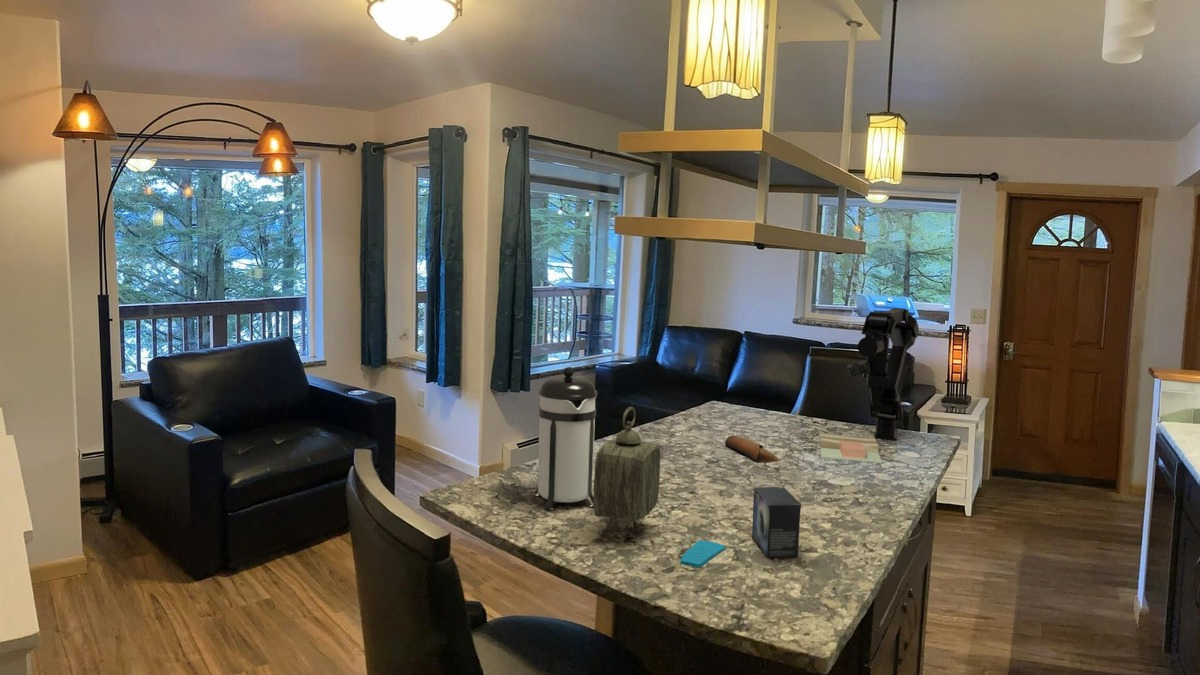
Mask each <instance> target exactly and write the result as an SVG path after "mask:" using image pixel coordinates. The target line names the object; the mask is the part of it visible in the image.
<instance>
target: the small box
mask: <svg viewBox="0 0 1200 675" xmlns="http://www.w3.org/2000/svg"><path fill="white" fill-rule="evenodd" d="M801 508H802V504H801V503H800V502H799V501H798V500H797V499H796V498H795V496H793V495H792V494H791V493H790V492H789V491H788V490H787V489H786V488H785V487H784V486H761V487H758V486H757V487H754V488H753V507H752V528H751V529H752V530H751V537H752V539H753V541H754V542H755V543H756V545H757V546H758V547H759V549H760V550H761V552H762V553H763V554H764V556H765V557H766V559H790V558H791V559H798V558H799V547H800V546H799V545H800V543H799V542H800V526H801V525H800V524H801V522H800V520H801V512H802V511H801Z"/></svg>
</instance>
